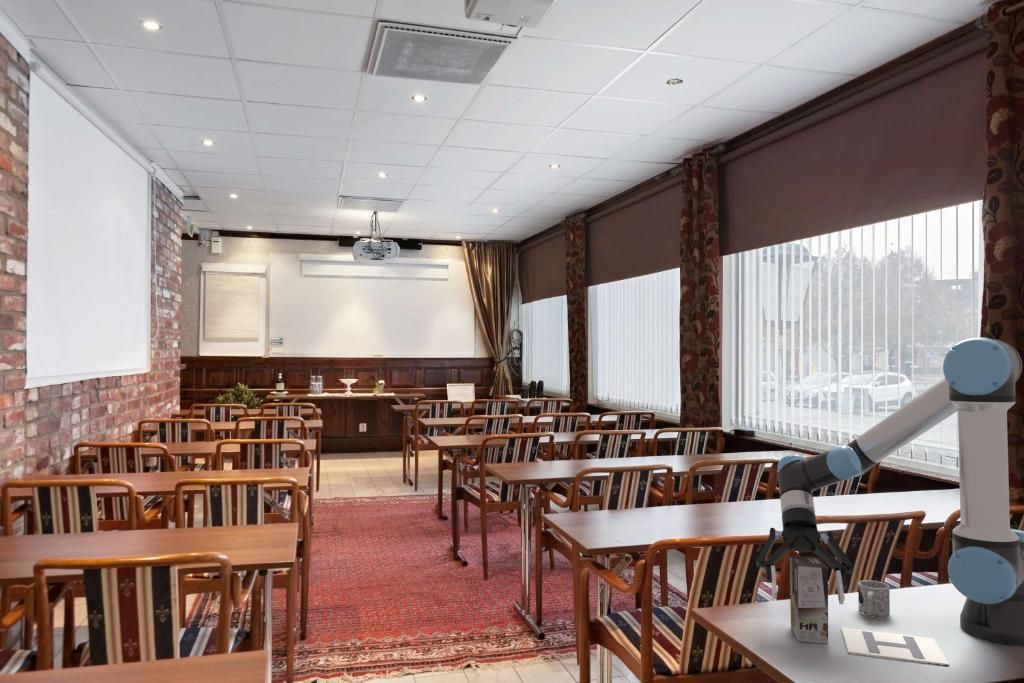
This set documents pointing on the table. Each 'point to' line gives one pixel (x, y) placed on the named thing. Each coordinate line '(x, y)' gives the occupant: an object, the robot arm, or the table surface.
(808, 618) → the coffee box
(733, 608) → the table surface
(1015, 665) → the table surface
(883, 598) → the mug
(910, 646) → the letter card
